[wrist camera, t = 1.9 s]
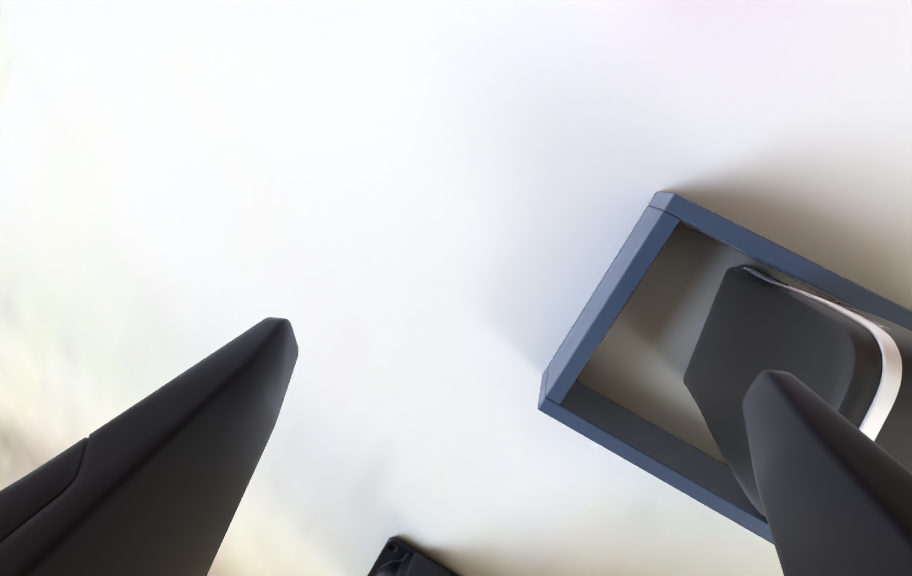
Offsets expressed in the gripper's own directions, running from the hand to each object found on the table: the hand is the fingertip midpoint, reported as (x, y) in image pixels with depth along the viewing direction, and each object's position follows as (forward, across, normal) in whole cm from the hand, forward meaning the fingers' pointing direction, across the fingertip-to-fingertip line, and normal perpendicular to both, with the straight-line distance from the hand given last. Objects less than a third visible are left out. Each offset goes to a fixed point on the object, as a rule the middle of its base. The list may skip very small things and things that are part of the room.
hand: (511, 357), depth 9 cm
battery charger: (+12, -12, +10) cm, 20 cm away
